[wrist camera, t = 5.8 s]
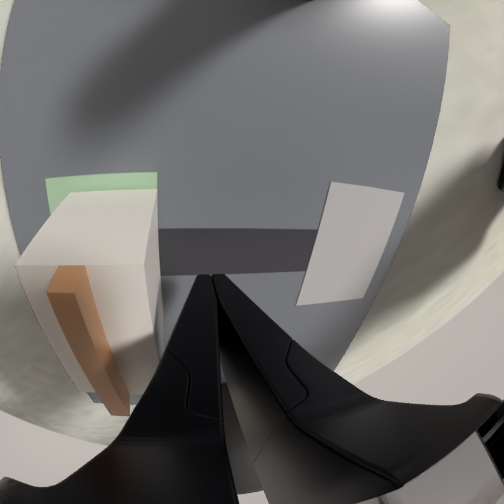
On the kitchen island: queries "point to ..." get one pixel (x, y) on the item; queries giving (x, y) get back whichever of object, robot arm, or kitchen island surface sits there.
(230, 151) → the panel
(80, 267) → the orange striped block
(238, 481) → the cord post
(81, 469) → the robot arm
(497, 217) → the kitchen island surface
